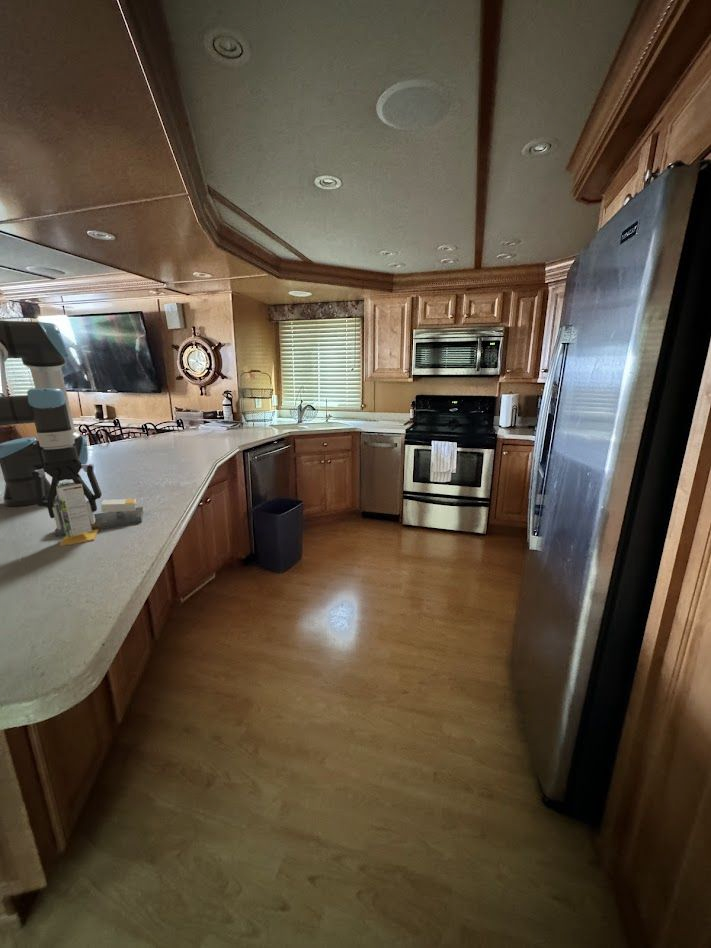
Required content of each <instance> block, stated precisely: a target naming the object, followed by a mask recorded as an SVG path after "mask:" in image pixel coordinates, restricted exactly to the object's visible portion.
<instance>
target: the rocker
mask: <svg viewBox="0 0 711 948" xmlns="http://www.w3.org/2000/svg"><path fill="white" fill-rule="evenodd" d="M100 505H101V506H100V508H101V509H100V510H101V512H100V513H105V512H116V511H135V509H136V508H137V499H136V498H126V499H123V498H122V499H121V498H120V499H103V500H102V502H101V504H100Z"/></svg>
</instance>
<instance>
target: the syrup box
mask: <svg viewBox="0 0 711 948" xmlns="http://www.w3.org/2000/svg"><path fill="white" fill-rule="evenodd" d="M56 499H57V500H56V501H57V504H58V506H59V510H60V514H61V519H62V523H63V527H64V531H65V533H66V534H67V536H68V537H71V536H75V535H79V534H82V533H86V532H89V531H92V529H91V524H90V519H89V514H88V510H87V505H86V501H87V500H86V496H85V495H84V491H83V487H82V484H76V483H75V482H74V481H73V480H69V481H68V480H67V481H61V482H59V484H58V485H57V486H56Z"/></svg>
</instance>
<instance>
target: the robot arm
mask: <svg viewBox="0 0 711 948" xmlns="http://www.w3.org/2000/svg"><path fill="white" fill-rule="evenodd" d="M64 342H65V341H64V340H63V336H62V334H61V331H60V329H59V327H58V325H56V324H55V323H51V322H44V321H43V322H42V321H24V320H23V321H21V320H19V321H18V320H0V426H9V425H20V424H21V425H22V424H34V427H35V430H36V437H37V438H36V437H35V436H29V437H23V438H16V439H13V440H8V441H5V442H1V443H0V469H1V472H2V477H3V479H4V482H5V485H4V486H5V487H4V492H3V502H4V506H6V507H23V506H28V505H29V506H30V505H36V504H37V506H38V507H46V508H47V511H48V514H49V517H50V519H55V520H54V521H55V524H56V528H57V529H61V528H62V527H63V523H62V519H61V514H60V510H59V505H58V503H57V504H55V503H56V502H55V500H56V499H57V496H56V486H57V485H58V484H59V483H60V482H63V481H65V480H67V481H68V480H69V481H74V482H75V483H76V484H82V487H83V491H84V496H85V499H87V500H88V501H87V500H86V501H87V502H86V505H87V509H88V514H89V518H90V522H91V524H94V523H95V521H96V520H95V516H94V514H95V513H94V512H97V510H98V505H97V502H96V500H98V499H101V497H102V495H103V494H102V493H103V492H102V490H101V488H100V486H99V482H98V480H97V477H96V475H95V472H94V468H95V465H94V463H90V464H88V459H89V456H88V454H89V453H88V442H87V438H86V436H84V435H81V432H80V430H77V429H76V428H75V425H74V419H73V415H72V411H71V406H70V402H69V399H68V393H67V388H66V385H65V379H64V375H63V369H62V368H63V367H64V366H65V365H66V361H65V360H68V359H69V358H70V356H69V353H68V350H67V348H66V345H65V343H64ZM8 359H21V360H22V364H23V365H24V366H25V367H26V368H29V369H30V373H31V377H32V382H33V384H34V388H30V389H28V390H27V392H26V395H10V396H9V395H8V388H7V387H8V385H7V376H6V364H5V362H6V361H7V360H8ZM81 470H83V471H84V472H85V473H86V475H87V478H88V481H89V483H90V486H91V489H92V491H91V490H90V488H89V487H88V486H87V484H86V483H85V482H84V480H83V478H82V476H81V475H80V474H79V473H80V471H81ZM46 474H47V475H48V476H50V477H51V482H50V481H49V479H47V477H46Z"/></svg>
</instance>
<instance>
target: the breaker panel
mask: <svg viewBox="0 0 711 948" xmlns="http://www.w3.org/2000/svg"><path fill="white" fill-rule="evenodd" d="M143 508H144V507H143V506H139V507H136V509H135V511H116V512H98V513H94V516H95V520H96V521H95V523H94V524H91V522H90V524H91V529H92V530H95V529H99V530H104V529H109V528H110V529H111V528H115V527H116V528H117V527H122V525H123V526H128V524H129V525H134V524H133V523H135V524H139V522H141V523H143V518H144V509H143ZM89 519H90V518H89ZM54 531H55V535H56V537H63V536H64V537H65V536H66V533H65V531H64V527H62V528H61V529H57V527H56V528H55V529H54Z"/></svg>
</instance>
